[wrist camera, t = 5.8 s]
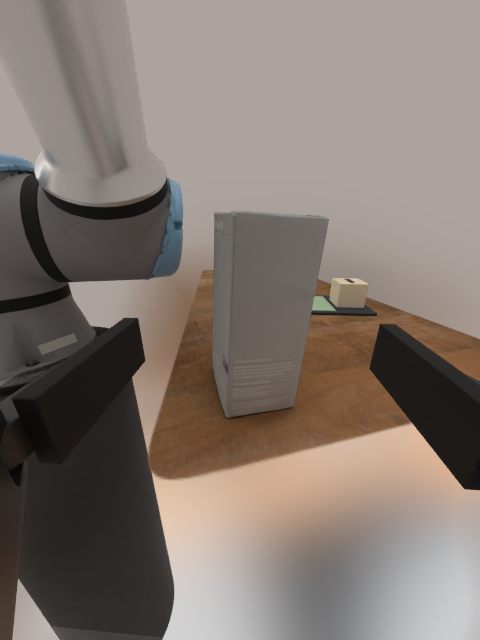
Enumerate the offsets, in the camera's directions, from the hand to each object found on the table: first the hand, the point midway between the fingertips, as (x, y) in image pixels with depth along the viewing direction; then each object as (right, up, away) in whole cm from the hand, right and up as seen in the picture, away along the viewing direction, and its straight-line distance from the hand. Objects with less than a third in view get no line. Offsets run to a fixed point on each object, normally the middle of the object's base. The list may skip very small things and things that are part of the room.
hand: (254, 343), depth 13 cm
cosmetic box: (0, -5, +10) cm, 12 cm away
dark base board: (+13, +4, +34) cm, 37 cm away
